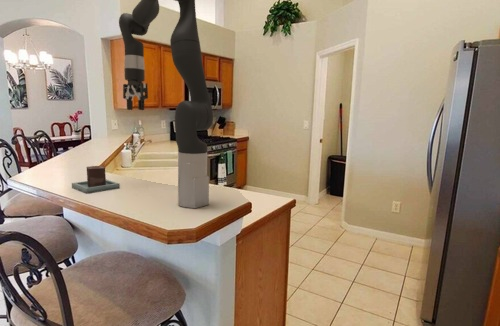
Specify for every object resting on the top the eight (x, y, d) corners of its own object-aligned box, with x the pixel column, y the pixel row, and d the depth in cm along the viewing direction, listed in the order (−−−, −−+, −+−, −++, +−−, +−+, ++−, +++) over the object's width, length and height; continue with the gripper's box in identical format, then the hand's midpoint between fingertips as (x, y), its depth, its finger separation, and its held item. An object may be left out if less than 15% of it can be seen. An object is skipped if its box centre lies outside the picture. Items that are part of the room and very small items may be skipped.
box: (106, 186, 119) (105, 167, 118) (88, 188, 116) (87, 168, 115) (104, 183, 124) (103, 165, 123) (87, 184, 121) (86, 166, 120)
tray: (119, 188, 121) (119, 183, 121) (86, 193, 111) (86, 188, 111) (104, 183, 129) (104, 178, 128) (71, 187, 119) (71, 183, 119)
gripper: (153, 68, 123) (153, 110, 125) (133, 70, 131) (134, 110, 134) (135, 65, 117) (136, 109, 119) (116, 68, 126) (117, 109, 128)
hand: (135, 109), depth 126 cm, fingers open, 8 cm apart
